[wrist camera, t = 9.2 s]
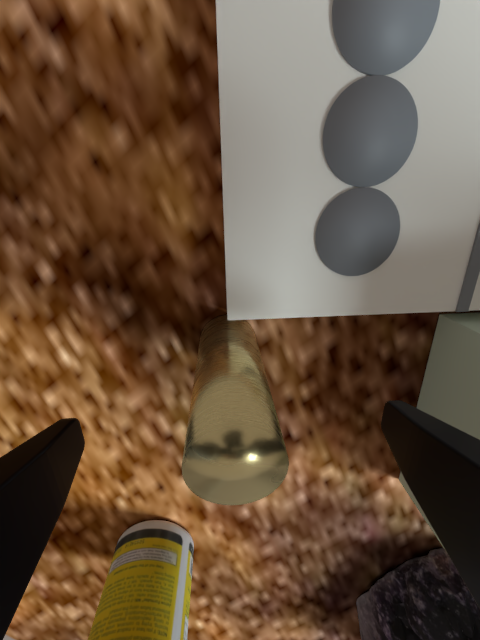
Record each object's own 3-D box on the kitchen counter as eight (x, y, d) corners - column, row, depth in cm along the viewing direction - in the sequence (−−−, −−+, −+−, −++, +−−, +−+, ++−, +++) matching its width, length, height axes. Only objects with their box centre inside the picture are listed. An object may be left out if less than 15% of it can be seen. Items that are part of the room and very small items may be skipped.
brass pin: (255, 313, 13) (289, 422, 7) (256, 363, 14) (287, 500, 8) (197, 316, 13) (175, 431, 6) (202, 366, 14) (188, 509, 7)
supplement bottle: (102, 535, 18) (10, 793, 10) (166, 506, 17) (122, 755, 9) (148, 574, 19) (99, 821, 12) (208, 548, 19) (199, 789, 11)
